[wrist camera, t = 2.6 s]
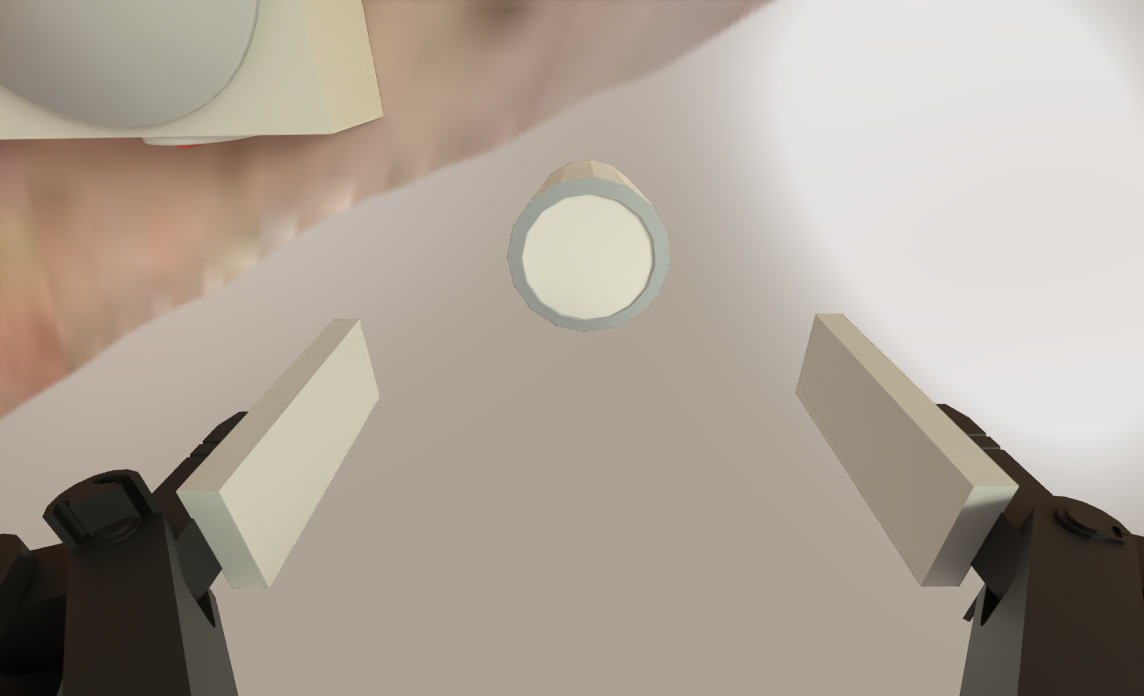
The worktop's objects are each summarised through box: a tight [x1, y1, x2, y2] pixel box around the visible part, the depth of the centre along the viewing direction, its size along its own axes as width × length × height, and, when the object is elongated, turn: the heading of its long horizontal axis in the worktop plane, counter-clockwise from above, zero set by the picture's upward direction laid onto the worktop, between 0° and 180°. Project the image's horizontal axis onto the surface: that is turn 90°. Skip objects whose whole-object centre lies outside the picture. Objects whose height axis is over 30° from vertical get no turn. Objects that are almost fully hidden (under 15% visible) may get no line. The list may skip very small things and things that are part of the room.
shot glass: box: [507, 160, 670, 332], centre depth 24 cm, size 7×7×7 cm
